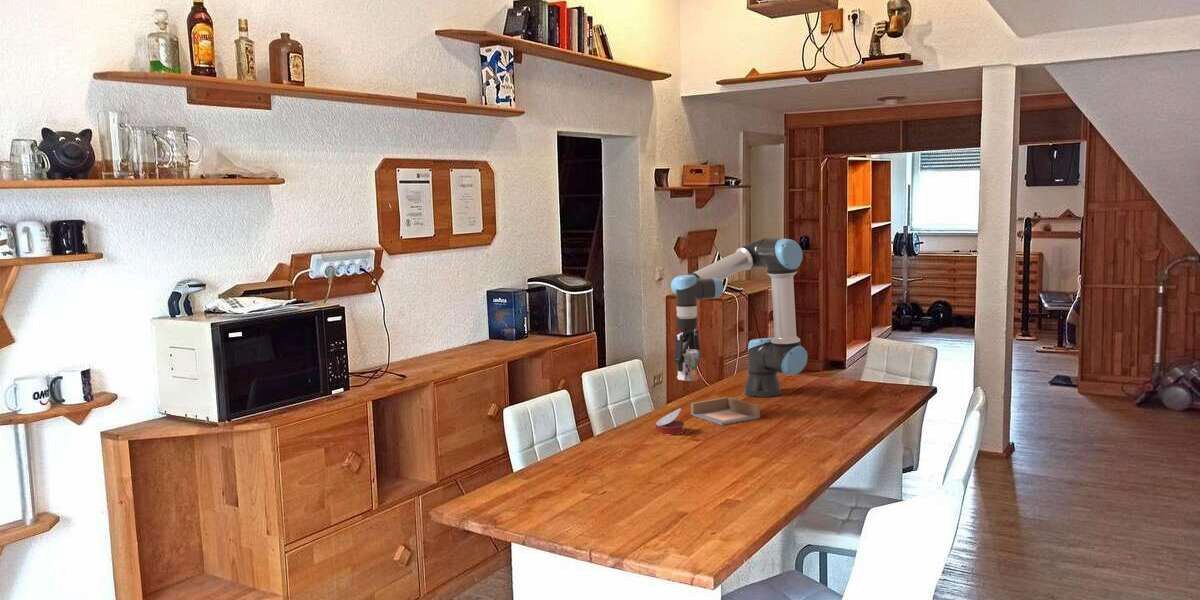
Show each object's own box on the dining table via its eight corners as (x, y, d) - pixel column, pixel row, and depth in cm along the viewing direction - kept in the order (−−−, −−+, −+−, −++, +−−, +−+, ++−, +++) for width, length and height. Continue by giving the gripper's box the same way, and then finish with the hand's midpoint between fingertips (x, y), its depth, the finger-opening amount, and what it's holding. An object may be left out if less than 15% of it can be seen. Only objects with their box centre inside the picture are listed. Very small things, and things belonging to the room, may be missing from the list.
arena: (728, 409, 351) (728, 396, 351) (759, 418, 336) (759, 405, 336) (690, 416, 342) (690, 402, 342) (721, 425, 327) (721, 411, 326)
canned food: (676, 448, 315) (671, 426, 310) (652, 441, 321) (646, 419, 316) (692, 427, 322) (688, 406, 317) (669, 421, 328) (663, 399, 323)
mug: (702, 381, 333) (701, 353, 332) (677, 382, 333) (676, 354, 332) (698, 375, 345) (698, 347, 344) (674, 376, 345) (673, 348, 344)
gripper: (691, 313, 347) (692, 371, 350) (663, 320, 329) (664, 381, 332) (709, 314, 343) (710, 373, 346) (681, 321, 325) (682, 383, 328)
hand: (687, 377), depth 339 cm, fingers closed on mug, 9 cm apart
